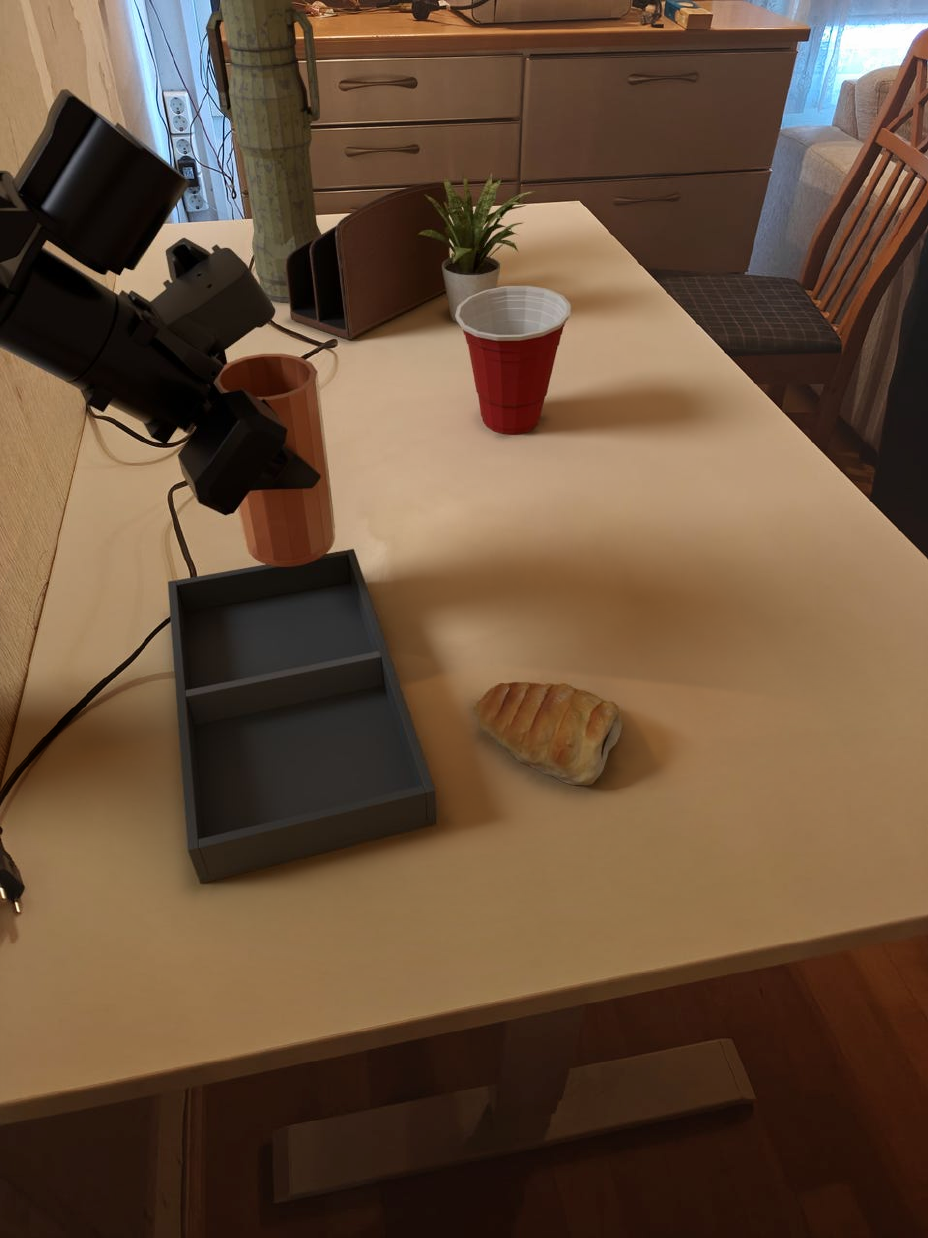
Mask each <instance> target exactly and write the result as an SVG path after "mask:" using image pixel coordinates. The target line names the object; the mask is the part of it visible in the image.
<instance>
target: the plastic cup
mask: <svg viewBox="0 0 928 1238" xmlns="http://www.w3.org/2000/svg"><path fill="white" fill-rule="evenodd" d="M571 306H572V305H571V303H570V301H569V300H568V299H567V298H566V297H565V296H564V295H563V294H561V293H559V292H556V291H554V290H551V289H549V288H546V287H539V286H532V285H504V286H501V287H497V288H494V289H489V290H485V291H482V292H480V293H477V294H475V295H472V296H470V297H468V298H467V299H466V300H465V301H463V302H462V303H461V304H460V305H459V306H458V307H457V311H456V315H455V317H456V320H457V321H458V322H457V324H459V326H460V328H461V330H462V332H463V335H464V337H465V341H466V344H467V347H468V353H469V358H470V364H471V370H472V374H473V378H474V385H475V389H476V393H477V398H478V405H479V411H480V416H481V419H482V421H483V424H484V425H485V427H486V428H487V429H489V430H491V431H492V432H495V433H499V434H503V435H518V434H524V433H527V432H529V431H533V430H534V429H535V428H536V426H538V424H539V420H540V419H541V416H542V412H543V407H544V402H545V400H546V399H545V398H546V397H547V395H548V390H549V385H550V381H551V377H552V373H553V368H554V365H555V360H556V356H557V351H558V349H559V348H558V347H559V346H560V343H561V338H562V335H563V331H564V327H565V326H566V323H567V322H568V320H570V317H571Z"/></svg>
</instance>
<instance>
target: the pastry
mask: <svg viewBox="0 0 928 1238" xmlns="http://www.w3.org/2000/svg"><path fill="white" fill-rule="evenodd" d="M474 712H475V713H474V714H475V716H476V718H477V722H478V725H479V728H480V729H481V731H483V732H484V733H485V734H486V735H488V737H489V739H493V740H495V742H496V743H497V744H498V745H499V746H500V747H503V749H506V750H507V751H508V752H509V753H510V754H511V755H512V757H513V758H514V759H516V760H517V762H519V763H520V764H526V765H527V766H529V767H530V768H532V769H534V770H536V771H539V772H541V773H543V774H544V775H549V776H551V777H554V778H555V779H557V780H558V781H561V782H563V783H566V784H567V785H573V786H591V785H593V784H594V783H595V782H596V780H597V779H598V778H599V777H600V776H601V775H602V773H603V771H604V769H605V767H606V761H607V760H608V756H609V751H610V750H611V749H612V748H613V747H614V746H615V745H616V744H617V742H618V741H619V738H620V735H621V733H622V727H623V726H622V725H623V724H622V715H621V714H622V713H621V710H620V708H619V706H618V705H617V703H616V702H615V701H613V700H606V699H604V698H602V697H600V696H599V695H597V694H594V693H592V692H590V691H588V690H585V689H579V688H578V689H577V688H576V687H574V686H572V685H570V684H569V683H550V682H548V683H544V684H543V683H539V682H538V683H537V682H529V681H523V682H522V681H521V682H519V681H512V682H507V683H506V682H500V683H498V684H496V685H494V686H493V687H491V688H489V689H488V690H487V691H486V693H484V695H483V696H482V697H481V698H480V699H478V700H477V701H476V702H475V705H474Z"/></svg>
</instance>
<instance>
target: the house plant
mask: <svg viewBox="0 0 928 1238" xmlns="http://www.w3.org/2000/svg"><path fill="white" fill-rule="evenodd" d="M493 173H494V172H493V171H492V172H491V173H490V175H489V177H488V179H487V180H486V182H485V185H484V187H483V190H482V192H481V194H480V196H479V198H478V200H477V203H476V206H475V208H474V204H473V196H472V193H471V190H470V187H469V183H468V179H467V176H466V175H465V173H464V172H462V184H463V192H464V198H462V196H460V195H459V194H458V192H457V191H456V190H455V189H454V187H453V186H452V183H451V182H450V180H448V179H447V178H445V176H443V177H442V180H443V184H444V185H445V188H446V193H447V197H448V204H449V206H448V205H447V204H446V203H445V202H444V204H445V207H446V210H447V212H448V214H449V216H448V215H447V213H446V212H445V210H444V209H443V208H442V207H441V206H440V205H439V204H438V203H437V202H436V201H435V200H434V199H433V198H431V197H429V196H427V195H426V194H425V196H426V197H427V198H428V199H429V200H430V201H431V202H432V203H433V205H434V206H435V208H436V209H437V211H438V212H439V213H440V214H441V215H442V217H443V218H444V220H445V221H446V223H447V225H448V227H446V228H445V229H444V230H445V233H446V234H447V236H448V237H449V240H447V239H446V238H445V237H444V236H443V235H441V234H440V233H438V232H436V231H433V230H424V231H422V232H420V233H419V234H420V235H425V236H429V237H433V238H436V239H439V240H441V241H443V242H445V243H446V244H447V245H448V246H449V247H450V250H451V251H452V252H453V253H450V258H448V259H446V260H445V261H444V262H443V263H442V271H443V277H444V282H445V288H446V292H445V293H446V298H447V305H448V309H449V315H450V318H451V319H452V320H453V322H457V323H458V321H457V320H456V317H455V315H456V311H457V307H458V306H459V305H460V304H461V303H462V302H463V301H465V300H466V299H467V298H468V297H470V296H472V295H475V294H477V293H480V292H482V291H485V290H489V289H494V288H498V281H499V277H500V271H501V263H500V262H499V261H498V260H497V259H495V258H493V257H491V256H492V255H493V254H494V253H496V252H497V251H498V250H499V249H501V247H502V246H503V245H506V246H509V247H511V248H513V249H514V250H515V251H517V252H519V250H518V247H517V245H516V244H517V243H516V242H513V241H511V240H508V239H505V238H508V237H511V236H513V235H518V236H519V234H518V233H516V232H514V231H513V230H512V228H514V227H516V226H518V225H522V224H523V222H515V223H512V224H510V225H508V226H505V225H503V224H500V223H499V222H500V221H501V220H505V218H503V217H504V215H506V213H507V212H509V211H511V210H517V209H521V208H523V207H526V206H527V204H523V203H525V202H526V200H518V199H520V198H522V197H523V196H526V195H529V194H532V193H534V192H537V191H539V190H532V191H531V190H530V191H526V192H523V193H519V194H517V195H515V196H513V197H511V198H510V199H508V200H507V201H505V203H503V204H502V205H501V206H500V207H498V208H497V209H496V210H495V211H493V212H491V213H490V211H491V210H492V207H493V205H494V203H495V201H496V195H497V190H498V188H499V186H500V184H501V181H502V179H499V180H496V181H495V182H494V183H493ZM492 183H493V184H492ZM493 222H494V223H493ZM492 223H493V224H492ZM501 228H502V229H503V228H504V229H503V230H501V231H499V232H497V233H496V234H494V235H493V236H492V237H491V235H492V234H493V232H495V231H496V230H498V229H501ZM496 244H501V245H499V246H498V247H496V249H494V251H492V249H493V248H494V247H495V245H496ZM491 251H492V252H491ZM490 252H491V253H490ZM489 254H490V255H489Z"/></svg>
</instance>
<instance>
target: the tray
mask: <svg viewBox="0 0 928 1238" xmlns="http://www.w3.org/2000/svg"><path fill="white" fill-rule="evenodd" d="M167 587H168V601H169V615H170V631H171V642H172V643H171V644H172V657H173V671H174V685H175V697H176V711H177V712H176V713H177V726H178V737H179V739H178V740H179V750H180V764H181V779H182V792H183V794H182V795H183V803H184V804H183V805H184V806H183V807H184V818H185V819H184V820H185V833H186V846H187V848H186V849H187V852H188V855H189V857H190V860H191V861H190V862H191V864H192V866H193V868H194V871H195V874H196V876H197V879H198V881H199V884H206V883H208V882H213V881H218V880H221V879H225V878H229V877H234V876H236V875H242V874H245V873H250V872H253V871H257V870H260V869H265V868H269V867H274V866H276V865H281V864H285V863H288V862H292V861H296V860H297V861H298V860H300V859H304V858H308V857H313V856H316V855H321V854H324V853H328V852H331V851H336V850H340V849H344V848H348V847H353V846H356V845H359V844H363V843H368V842H372V841H377V840H380V839H384V838H388V837H392V836H396V835H400V834H404V833H408V832H411V831H416V830H419V829H424V828H427V827H431V826H435V825H437V824H438V821H437V819H438V818H437V791H436V787H435V784H434V781H433V778H432V775H431V772H430V769H429V765H428V763H427V761H426V758H425V755H424V751H423V749H422V746H421V742H420V740H419V737H418V733H417V730H416V728H415V726H414V722H413V719H412V717H411V713H410V711H409V708H408V704H407V702H406V699H405V696H404V693H403V690H402V687H401V684H400V680H399V678H398V675H397V671H396V669H395V666H394V663H393V660H392V657H391V654H390V651H389V648H388V646H387V642H386V639H385V637H384V636H385V635H384V633H383V631H382V628H381V625H380V622H379V620H378V616H377V613H376V610H375V607H374V604H373V601H372V597H371V595H370V592H369V589H368V586H367V584H366V580H365V577H364V575H363V572H362V568H361V565H360V563H359V560H358V556H357V554H356V550H355V549H354V548H351V549H347V550H339V551H334V552H329V553H328V552H327V553H326V554H325V555H323V556H322V557H320V558H319V559H317V560H315V561H312V562H310V563H307V564H303V565H299V566H292V567H278V566H271V565H267V564H259V565H254V566H249V567H244V568H243V567H242V568H238V569H233V570H225V571H220V572H215V573H210V574H203V575H199V576H192V577H187V578H180V579H175V580H169V581H167Z"/></svg>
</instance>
